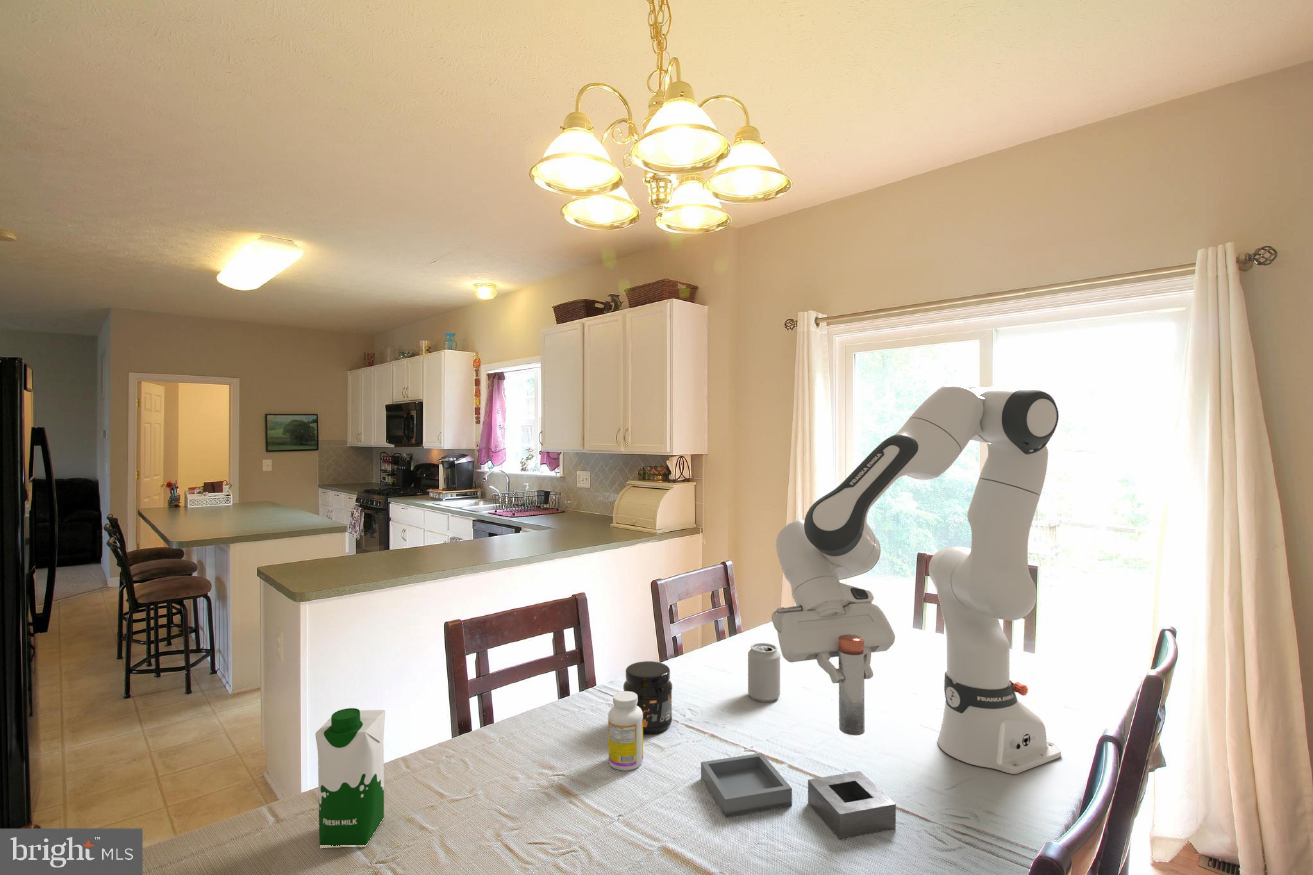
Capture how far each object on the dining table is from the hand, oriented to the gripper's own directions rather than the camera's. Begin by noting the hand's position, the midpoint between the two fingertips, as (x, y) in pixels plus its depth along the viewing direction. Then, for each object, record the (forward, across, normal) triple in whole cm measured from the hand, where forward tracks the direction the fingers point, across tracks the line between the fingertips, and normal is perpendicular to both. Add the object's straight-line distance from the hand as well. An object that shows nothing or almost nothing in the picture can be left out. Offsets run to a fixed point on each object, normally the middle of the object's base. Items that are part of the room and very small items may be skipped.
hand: (853, 679), depth 103 cm
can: (-17, +6, +49) cm, 52 cm away
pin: (+6, 0, +6) cm, 8 cm away
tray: (+8, -14, +24) cm, 29 cm away
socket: (+16, 0, +17) cm, 23 cm away
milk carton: (+3, -78, +28) cm, 83 cm away
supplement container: (-13, -24, +45) cm, 53 cm away
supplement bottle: (-3, -32, +35) cm, 48 cm away
